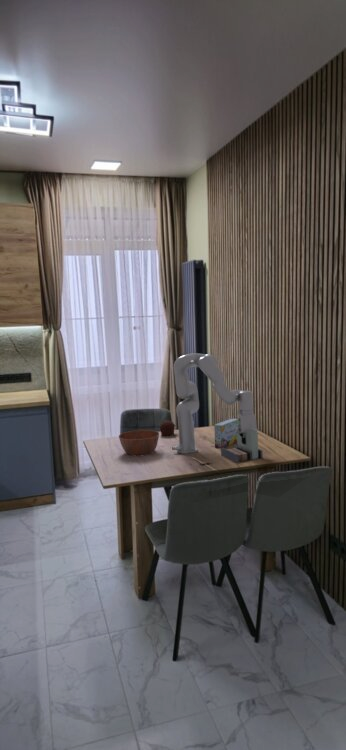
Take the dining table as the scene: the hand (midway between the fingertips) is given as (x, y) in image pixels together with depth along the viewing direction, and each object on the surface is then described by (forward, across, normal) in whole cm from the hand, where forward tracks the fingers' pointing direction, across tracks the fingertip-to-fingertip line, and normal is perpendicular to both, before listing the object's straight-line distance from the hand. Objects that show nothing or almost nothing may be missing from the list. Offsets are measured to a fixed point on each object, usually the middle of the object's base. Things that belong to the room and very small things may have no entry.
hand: (247, 443), depth 295 cm
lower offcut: (+7, -8, 0) cm, 11 cm away
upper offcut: (+6, -8, 0) cm, 10 cm away
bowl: (+9, -50, +45) cm, 68 cm away
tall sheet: (+7, 0, 0) cm, 7 cm away
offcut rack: (+8, -4, 0) cm, 9 cm away
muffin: (+9, -18, +77) cm, 79 cm away
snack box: (+9, +4, +31) cm, 32 cm away
